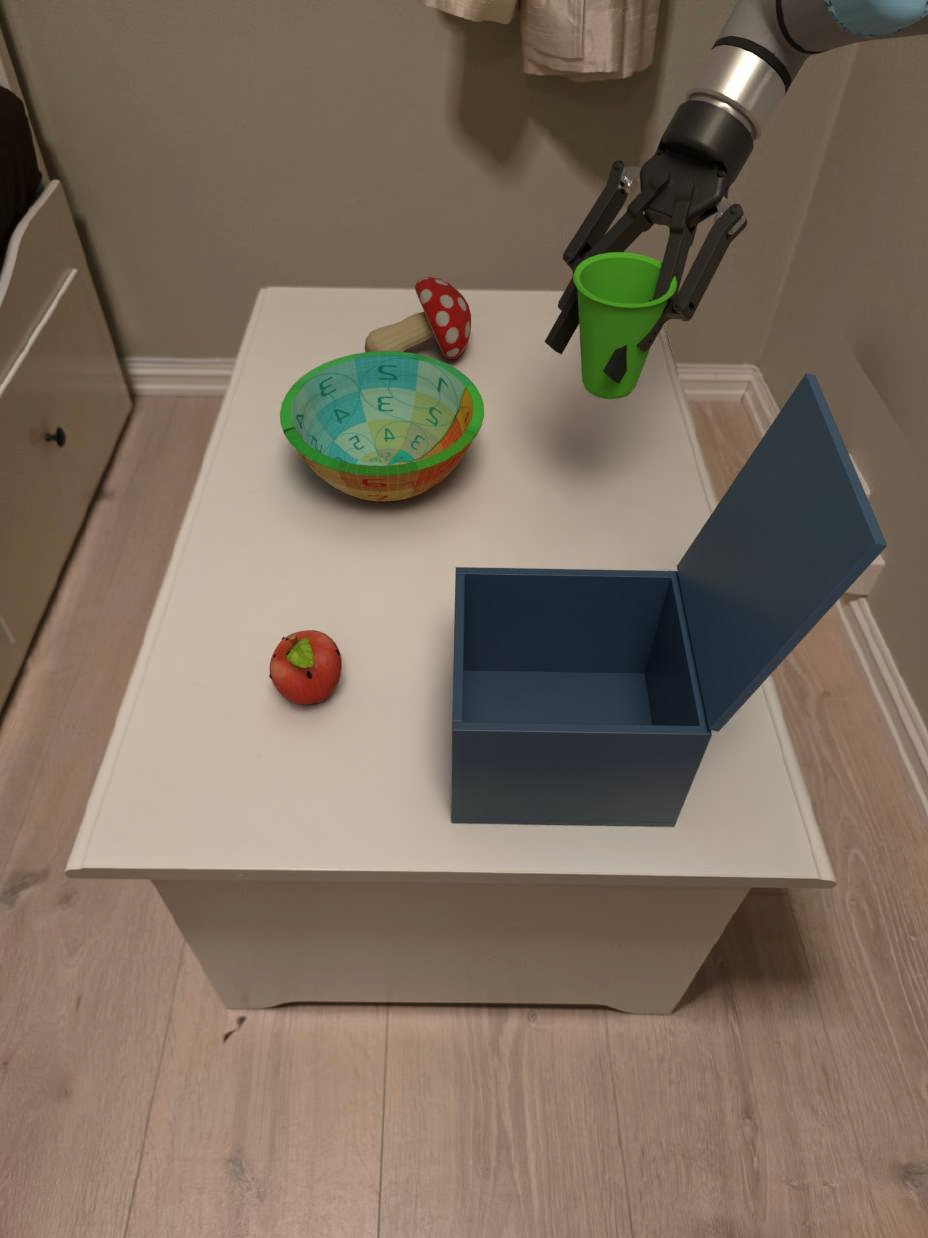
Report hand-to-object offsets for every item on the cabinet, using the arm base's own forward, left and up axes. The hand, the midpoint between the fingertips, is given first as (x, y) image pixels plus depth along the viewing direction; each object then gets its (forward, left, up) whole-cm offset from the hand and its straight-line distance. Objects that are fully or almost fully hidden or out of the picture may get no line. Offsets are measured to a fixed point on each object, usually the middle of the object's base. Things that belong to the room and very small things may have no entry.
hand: (581, 362), depth 82 cm
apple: (+14, +30, -22) cm, 40 cm away
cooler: (-9, +25, -22) cm, 35 cm away
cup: (-2, -3, -4) cm, 5 cm away
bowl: (+22, -1, -22) cm, 31 cm away
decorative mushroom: (+30, -26, -22) cm, 45 cm away
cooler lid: (-20, +21, +2) cm, 29 cm away
